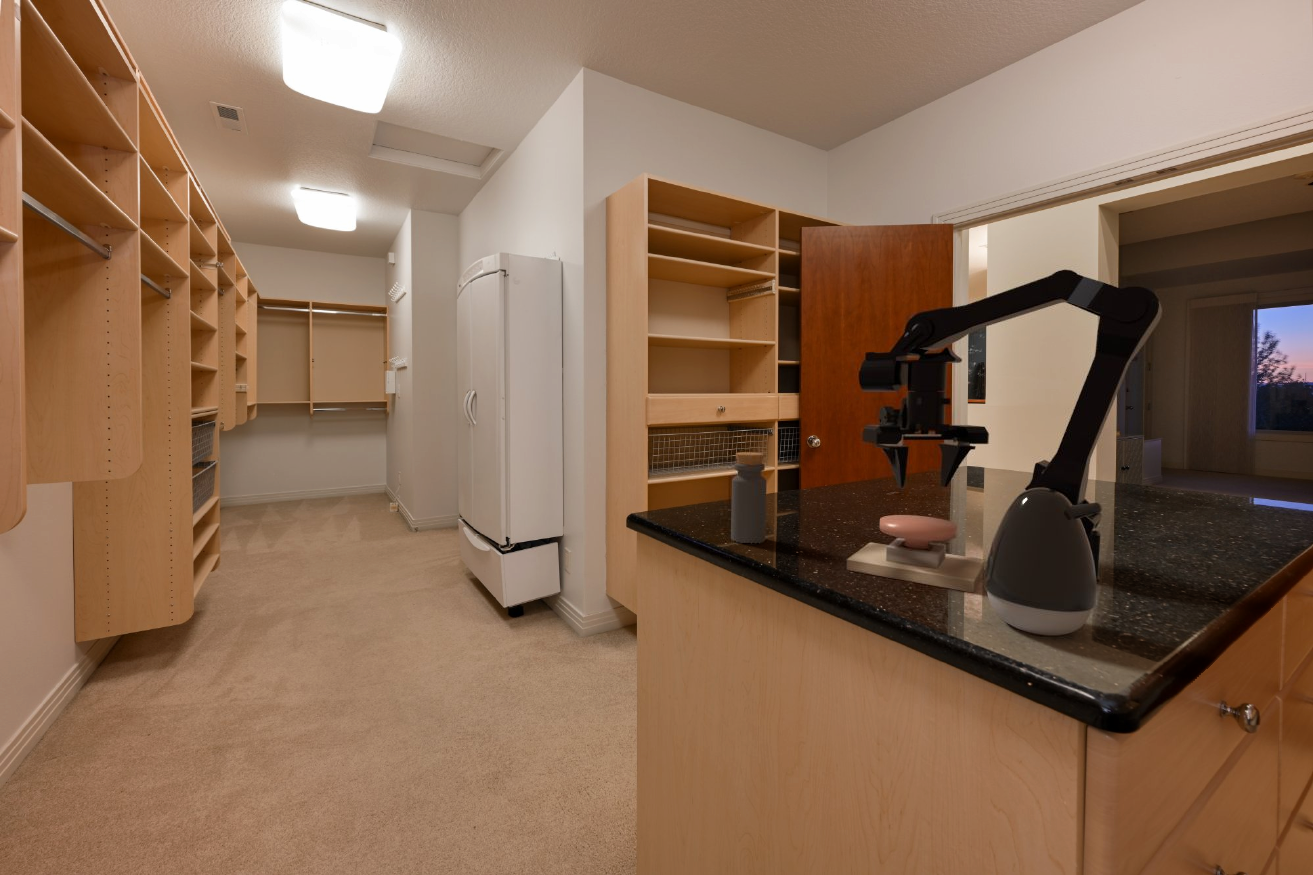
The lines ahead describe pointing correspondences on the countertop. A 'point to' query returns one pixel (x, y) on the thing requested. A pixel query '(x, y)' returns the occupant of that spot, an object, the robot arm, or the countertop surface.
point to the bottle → (748, 499)
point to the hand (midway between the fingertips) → (922, 487)
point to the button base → (918, 565)
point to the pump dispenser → (1042, 564)
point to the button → (918, 529)
